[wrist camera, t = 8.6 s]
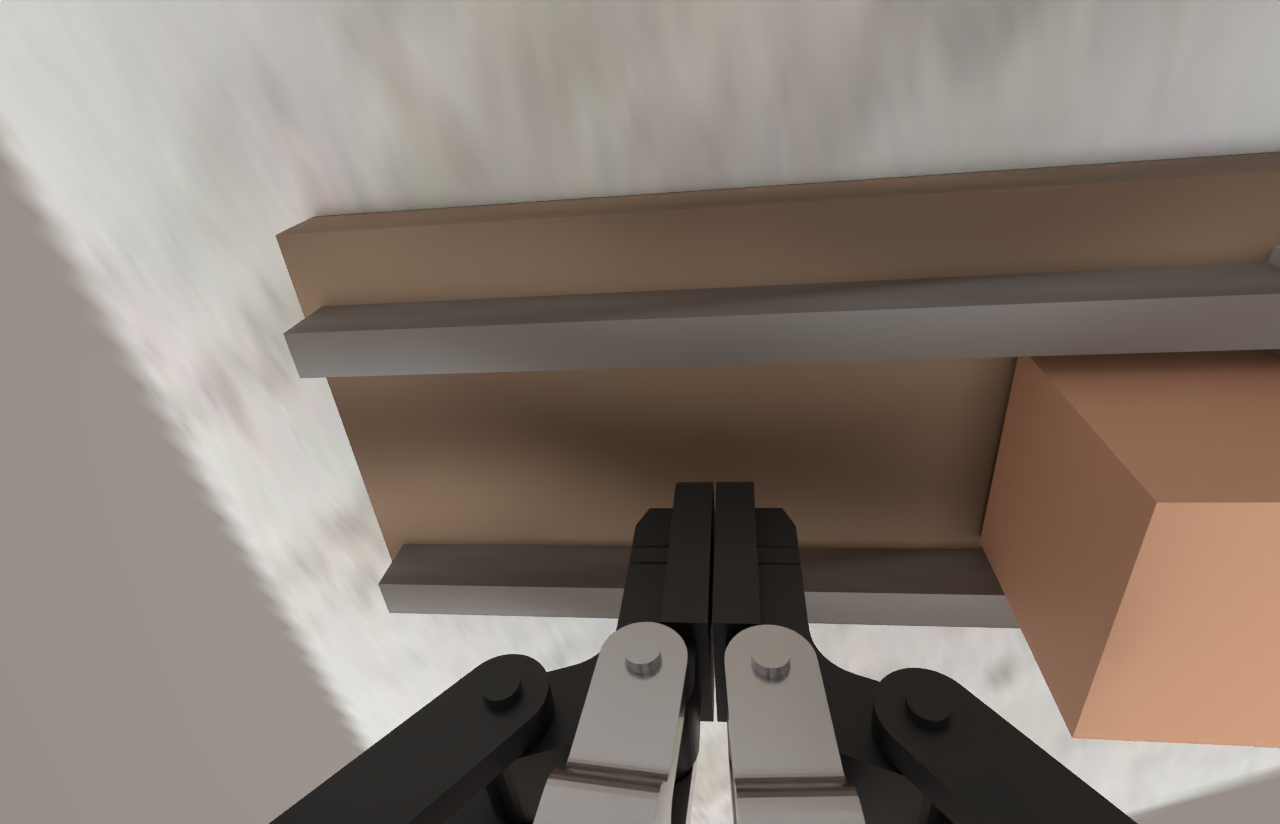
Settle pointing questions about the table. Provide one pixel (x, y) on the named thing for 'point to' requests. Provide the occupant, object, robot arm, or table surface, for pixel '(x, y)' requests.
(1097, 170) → the rail board
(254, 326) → the table surface
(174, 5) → the table surface
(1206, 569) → the orange-brown block
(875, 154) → the table surface
